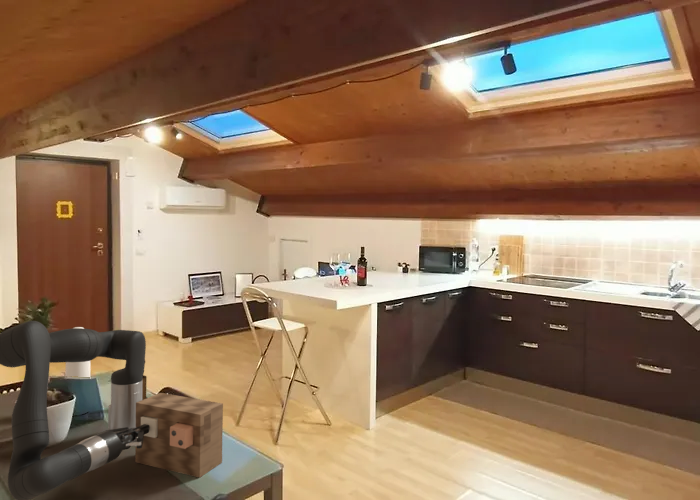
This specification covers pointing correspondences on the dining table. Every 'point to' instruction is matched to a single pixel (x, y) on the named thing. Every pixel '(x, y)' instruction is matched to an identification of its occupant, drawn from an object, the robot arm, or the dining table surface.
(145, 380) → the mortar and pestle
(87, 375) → the bottle
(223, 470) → the dining table surface
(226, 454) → the dining table surface
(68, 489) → the dining table surface
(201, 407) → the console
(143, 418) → the one dot button
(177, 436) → the two dot button
